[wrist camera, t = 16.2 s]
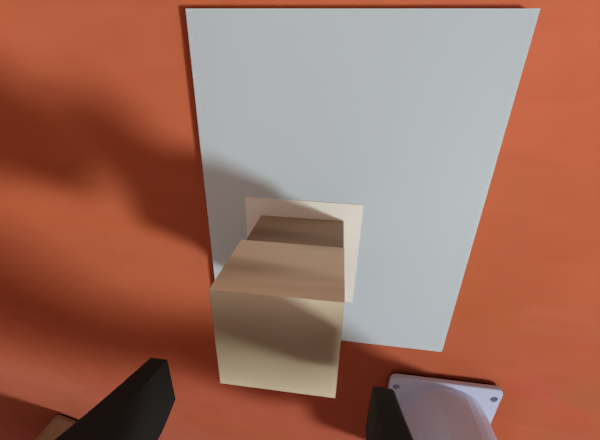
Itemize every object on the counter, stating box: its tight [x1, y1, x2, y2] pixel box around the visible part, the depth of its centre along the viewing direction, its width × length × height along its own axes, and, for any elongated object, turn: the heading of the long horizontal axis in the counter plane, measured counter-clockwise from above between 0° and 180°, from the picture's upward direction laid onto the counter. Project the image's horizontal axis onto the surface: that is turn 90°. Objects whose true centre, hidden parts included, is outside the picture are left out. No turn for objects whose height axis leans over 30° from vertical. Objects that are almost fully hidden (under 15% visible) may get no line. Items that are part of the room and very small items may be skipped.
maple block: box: [209, 240, 345, 398], centre depth 14 cm, size 5×5×4 cm
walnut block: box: [246, 215, 344, 248], centre depth 18 cm, size 5×5×4 cm
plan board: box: [185, 8, 540, 352], centre depth 18 cm, size 20×16×1 cm
